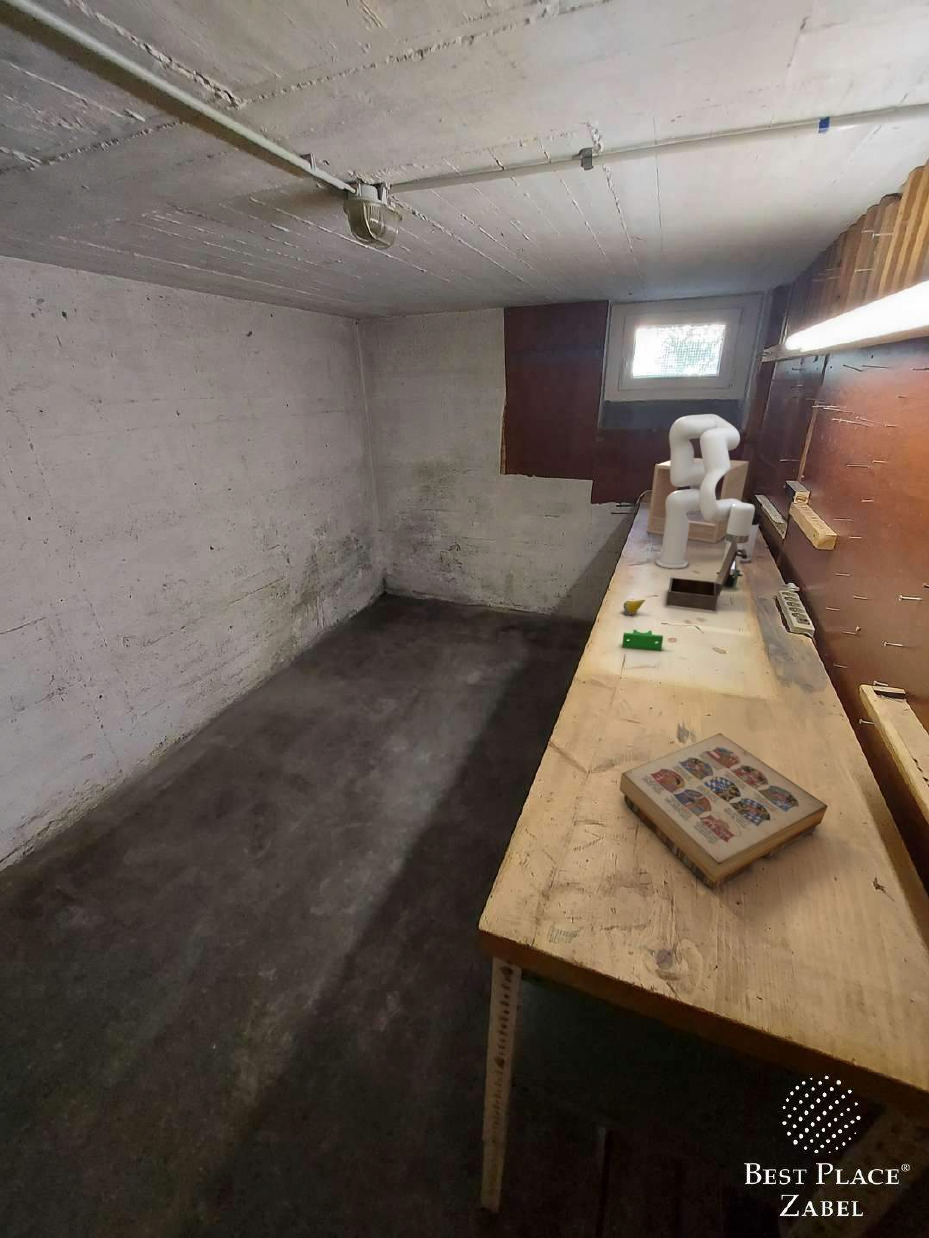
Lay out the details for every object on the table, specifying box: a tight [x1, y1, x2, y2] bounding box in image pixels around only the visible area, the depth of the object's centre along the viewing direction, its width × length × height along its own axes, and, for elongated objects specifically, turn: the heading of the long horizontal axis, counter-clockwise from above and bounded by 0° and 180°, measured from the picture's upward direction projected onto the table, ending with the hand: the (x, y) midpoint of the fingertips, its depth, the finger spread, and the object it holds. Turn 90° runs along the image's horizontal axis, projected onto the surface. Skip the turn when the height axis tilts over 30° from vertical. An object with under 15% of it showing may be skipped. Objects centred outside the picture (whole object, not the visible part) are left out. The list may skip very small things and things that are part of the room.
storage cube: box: [646, 457, 750, 544], centre depth 246 cm, size 34×29×34 cm
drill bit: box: [623, 599, 646, 617], centre depth 165 cm, size 5×5×10 cm
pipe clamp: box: [621, 629, 664, 651], centre depth 147 cm, size 11×4×5 cm, turn 76°
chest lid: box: [715, 538, 747, 597], centre depth 164 cm, size 16×15×5 cm
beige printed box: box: [619, 732, 828, 890], centre depth 90 cm, size 25×6×28 cm
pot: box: [716, 569, 744, 590], centre depth 183 cm, size 9×7×7 cm
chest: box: [665, 577, 719, 612], centre depth 173 cm, size 16×15×6 cm
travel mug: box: [739, 514, 762, 564], centre depth 206 cm, size 6×7×20 cm
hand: (727, 582), depth 183 cm, fingers open, 8 cm apart
